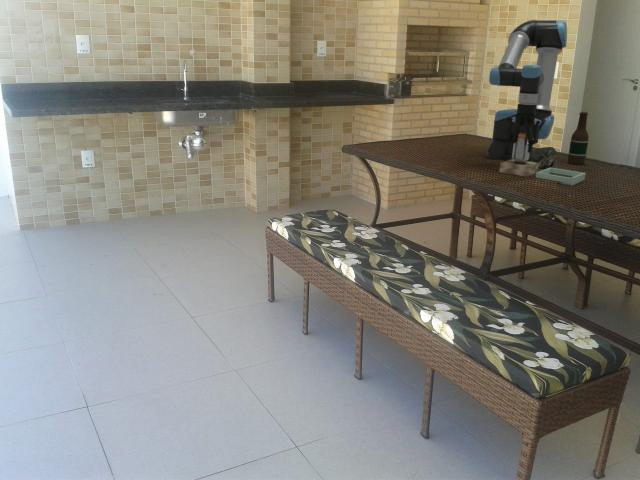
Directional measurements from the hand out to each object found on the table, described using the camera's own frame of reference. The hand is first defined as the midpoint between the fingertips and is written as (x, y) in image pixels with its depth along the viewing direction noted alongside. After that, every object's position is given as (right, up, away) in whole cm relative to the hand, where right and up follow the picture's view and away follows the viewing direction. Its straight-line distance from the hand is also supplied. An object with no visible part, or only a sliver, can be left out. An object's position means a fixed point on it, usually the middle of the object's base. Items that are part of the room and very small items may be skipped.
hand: (520, 158), depth 261 cm
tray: (+15, -10, -6) cm, 19 cm away
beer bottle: (+36, +1, +28) cm, 45 cm away
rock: (+14, -3, +15) cm, 20 cm away
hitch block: (0, -6, +2) cm, 7 cm away
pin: (0, -5, +2) cm, 6 cm away
